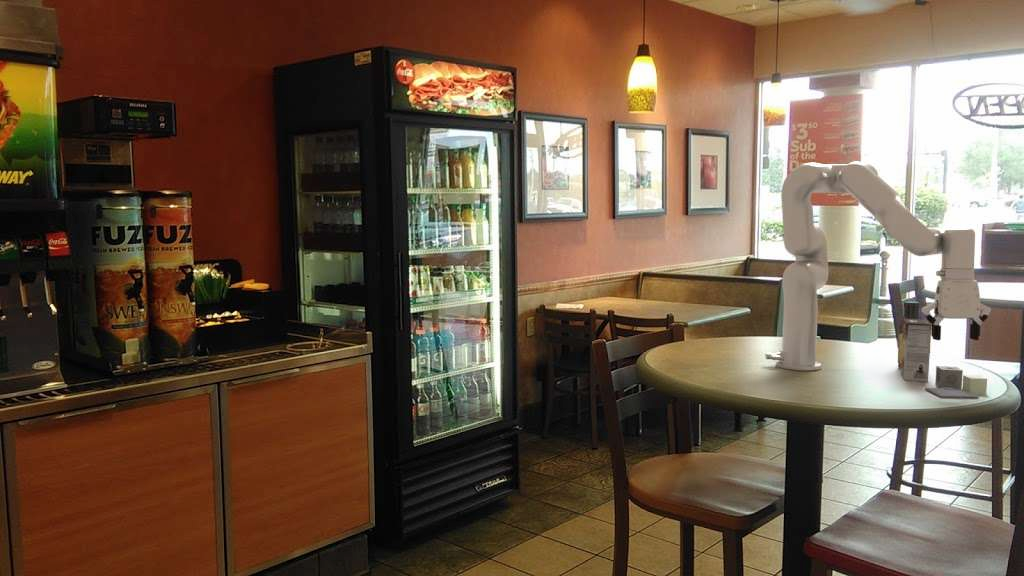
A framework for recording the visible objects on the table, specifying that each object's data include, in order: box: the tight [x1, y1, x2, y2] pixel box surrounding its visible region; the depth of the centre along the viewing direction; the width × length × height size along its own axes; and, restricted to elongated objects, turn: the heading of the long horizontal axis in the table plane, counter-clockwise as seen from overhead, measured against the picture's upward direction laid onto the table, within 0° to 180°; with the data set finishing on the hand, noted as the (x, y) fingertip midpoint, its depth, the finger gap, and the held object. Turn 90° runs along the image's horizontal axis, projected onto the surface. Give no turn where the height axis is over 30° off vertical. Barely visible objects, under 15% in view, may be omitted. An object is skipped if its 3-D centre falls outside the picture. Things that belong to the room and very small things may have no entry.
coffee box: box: [900, 318, 932, 383], centre depth 222 cm, size 9×6×16 cm
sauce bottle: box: [897, 301, 920, 370], centre depth 235 cm, size 7×6×20 cm
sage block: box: [962, 374, 988, 395], centre depth 206 cm, size 4×4×4 cm
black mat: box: [924, 387, 979, 400], centre depth 203 cm, size 9×9×1 cm
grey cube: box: [934, 365, 964, 389], centre depth 212 cm, size 5×5×5 cm
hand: (955, 339), depth 211 cm, fingers open, 9 cm apart
